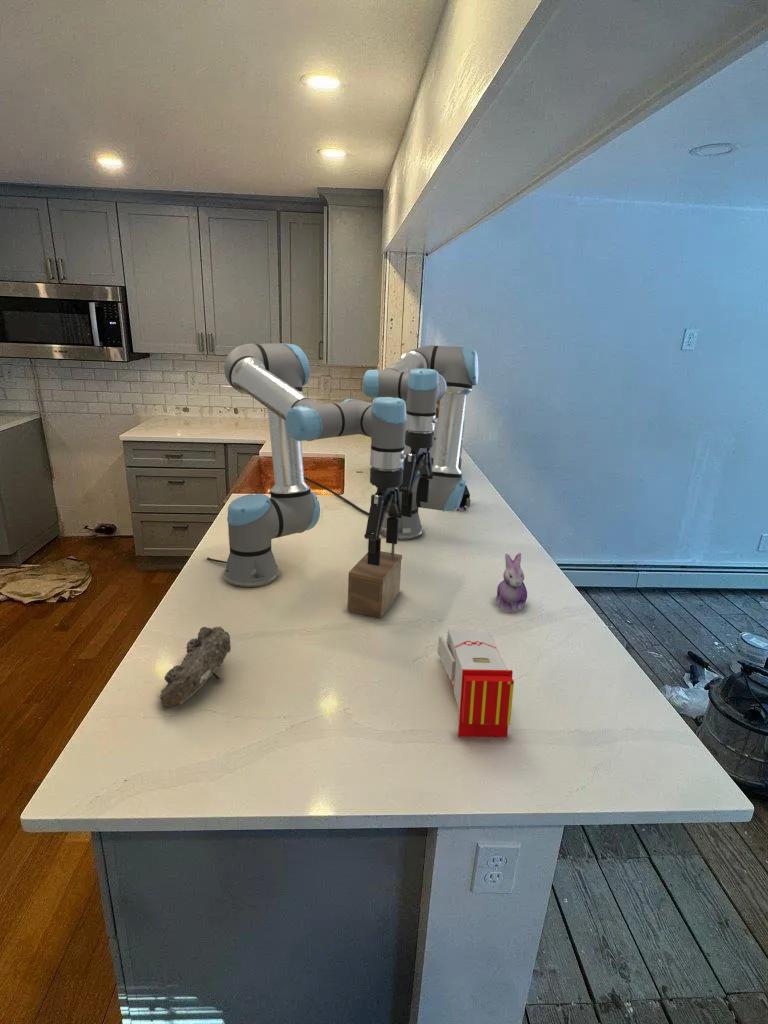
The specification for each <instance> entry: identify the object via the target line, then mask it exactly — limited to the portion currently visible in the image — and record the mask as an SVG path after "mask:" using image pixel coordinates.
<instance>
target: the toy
mask: <svg viewBox="0 0 768 1024" xmlns="http://www.w3.org/2000/svg"><path fill="white" fill-rule="evenodd" d="M446 640H447V643H446V641H445V639H444V636H443V635H442V634H439V637H438V646H437V656H438V657H439V659H440V661H441V663H442V666H443V668H444V670H445V672H446V674H447V677H448V679H449V681H450V684H451V687H452V690H453V693H454V697H455V701H456V705H457V708H458V711H459V714H458V715H459V716H458V730H457V731H458V732H457V737H458V738H508V731H509V726H510V725H511V717H512V707H513V697H514V696H513V695H514V684H515V680H514V679H513V673H514V671H513V670H512V669H508V667H507V665H506V662H505V661H504V659H503V658H502V655H501V653H500V651H499V649H498V647H497V643H496V639H495V637H494V635H493V634H491V632H490V631H489V629H467V628H466V629H465V628H463V629H461V628H460V629H459V628H448V630H447V639H446Z"/></svg>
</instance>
